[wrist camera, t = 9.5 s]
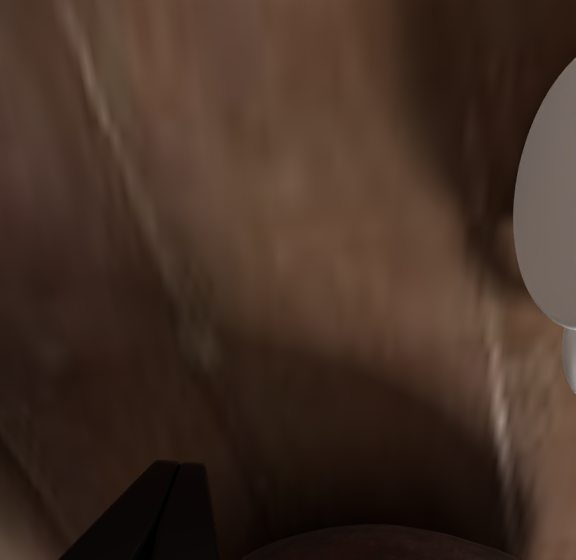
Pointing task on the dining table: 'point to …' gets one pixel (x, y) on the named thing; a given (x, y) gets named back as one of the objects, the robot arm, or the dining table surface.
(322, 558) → the jug
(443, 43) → the dining table surface
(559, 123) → the mug
